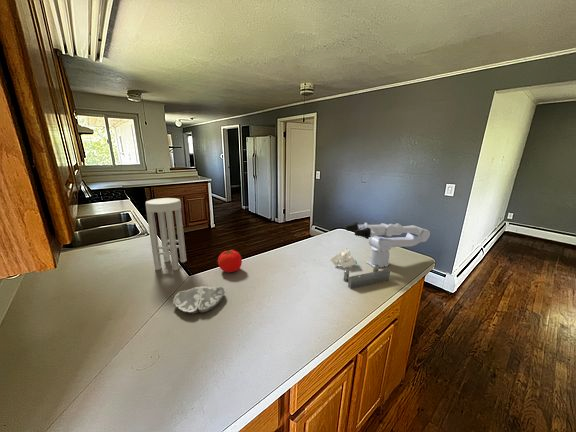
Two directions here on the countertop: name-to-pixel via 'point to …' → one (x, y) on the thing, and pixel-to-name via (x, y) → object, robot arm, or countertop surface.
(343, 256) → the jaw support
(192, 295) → the brain slice
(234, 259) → the tomato
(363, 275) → the housing bracket
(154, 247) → the stool
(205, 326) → the countertop surface
